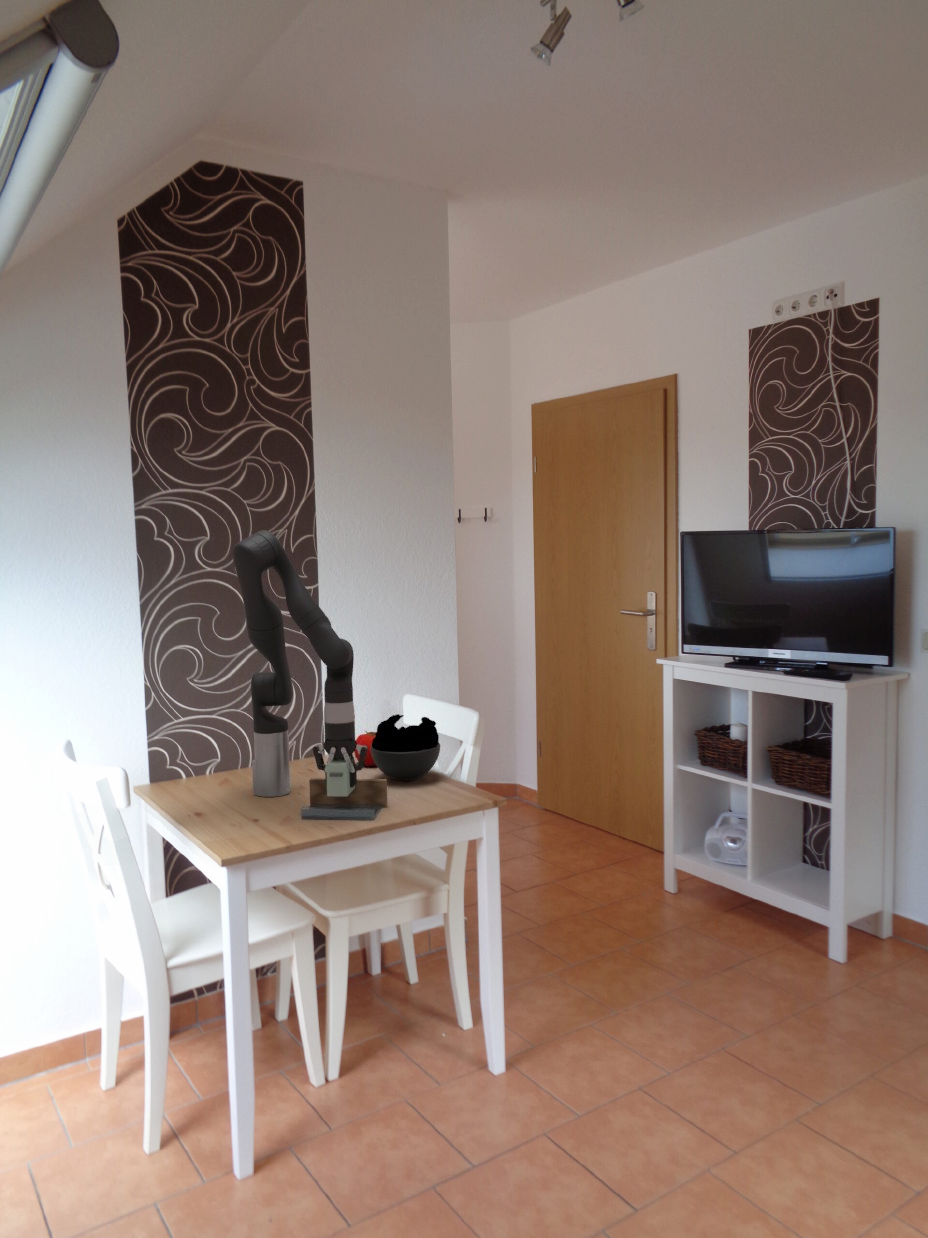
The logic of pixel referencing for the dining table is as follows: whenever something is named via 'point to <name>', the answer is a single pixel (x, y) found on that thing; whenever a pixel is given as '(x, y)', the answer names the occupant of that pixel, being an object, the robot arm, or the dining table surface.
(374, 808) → the dark grey flat slab
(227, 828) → the dining table surface
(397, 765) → the coal bowl
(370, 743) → the tomato
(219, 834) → the dining table surface
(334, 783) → the cabinet
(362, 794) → the wall board
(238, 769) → the dining table surface
